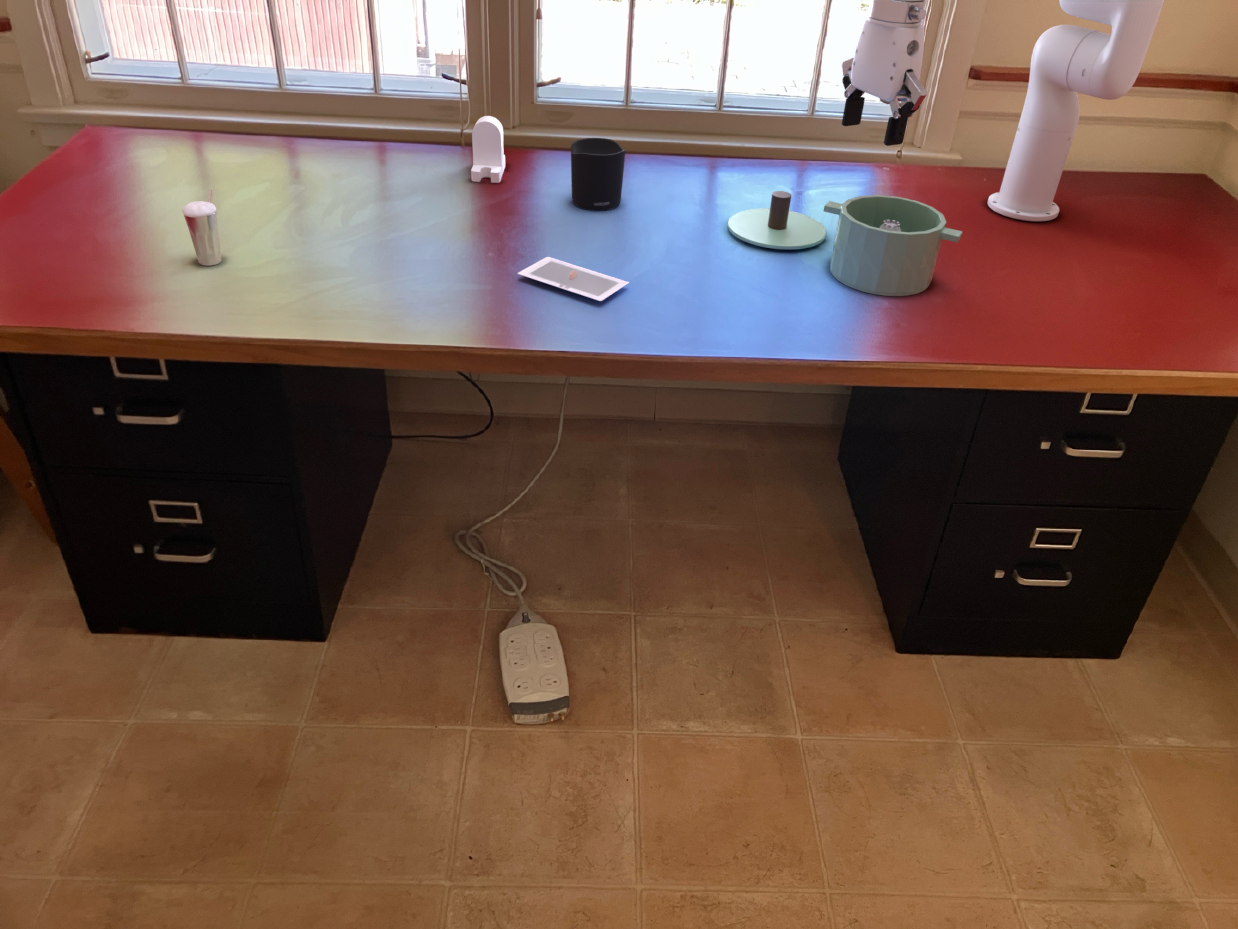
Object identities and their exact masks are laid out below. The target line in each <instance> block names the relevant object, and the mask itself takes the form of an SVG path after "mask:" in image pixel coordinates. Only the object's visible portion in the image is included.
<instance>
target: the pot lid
mask: <svg viewBox="0 0 1238 929" xmlns="http://www.w3.org/2000/svg"><path fill="white" fill-rule="evenodd" d="M791 201H792V194H791V193H790V192H788V191H783V190H775V191H773V192H772V193H771V199H770V206H769V207H761V208H760V207H758V208H750V209H745V210H741V211H738V212H736V213H734V214H732V215H731V216H730V217H729V219H728V222H727V228H728V231H729V232H730V233H731V234H732V235H733V236H734V237H735V238H737V239H739V240H741V241H743V242H746V243H748V244H751V245H754V246H757V247H762V248H766V249H767V248H768V249H773V250H801V249H807V248H812V247H815V246H817V245H820V244H821V243H822V242H824V240H825V239H826V237H827V230H826V227H825V226H824V225H823V224H822V223H821V222H820V221H819V220H817V219H816V218H814V217H811V216H809V215H807V214H805V213H801V212H797V211H793V210H790V206H791Z"/></svg>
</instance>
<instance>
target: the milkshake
mask: <svg viewBox="0 0 1238 929" xmlns="http://www.w3.org/2000/svg"><path fill="white" fill-rule="evenodd" d="M212 193H213V190H211V189H209V190H208V197H207V198H208V199H207V200H208V201H202V200H197V201H195V200H194V201H190V202H189V203H187V204H185V205H184V206H183V208H182V210H181V211H182V214H183V217H184V220H185V223H186V226H187V229H188V231H189V234H190V239H191V242H192V245H193V248H194V251H195V256H196V258H197V261H198V264H199V265H201V266H207V267H211V266H216V265H218V264H220V263H222V253H221V244H220V237H219V227H218V226H219V225H218V214H217V207H216V205H214V203H212V195H213V194H212Z"/></svg>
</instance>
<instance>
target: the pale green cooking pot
mask: <svg viewBox="0 0 1238 929" xmlns="http://www.w3.org/2000/svg"><path fill="white" fill-rule="evenodd" d="M823 212H825V213H829V214H833V215H837V216H838V219H837V224H836V230H835V235H834V241H833V246H832V251H831V256H830V261H829V263H830V267H829V270H830V273H831V275H832V276H833V277H834V278H835V279H836V280H837V281H838V282H839V283H841V284H843V285H845V286H847V287H849V288H851V289H853V290H856V291H859V292H863V293H867V294H871V295H877V296H883V297H905V296H913V295H917V294H921V293H922V292H924V291H925V290H927V289H928V288H929V286H930V284H931V282H932V281H933V278H934V272H935V268H936V264H937V261H938V258H939V254H940V250H941V245H942V242H943V240H944V241H949V242H953V243H959V241H960V240H961V239H962V237H963V231H962V230H958V229H953V228H949V227H946V226H947V220H946V218H945V215H944V214H943V213H942V212H940V211H939V210H938V209H936V208H935V207H933V206H931V205H929V204H926V203H924V202H920V201H918V200H914V199H910V198H906V197H902V196H893V195H882V194H871V195H858V196H855V197H852V198H848V199H847V200H845V201H844V202H843V203H840V202H835V201H831V200H828V201H827V203H825V204H824V205H823ZM886 220H890V222H889V223H892V220H895V224H896V223H897V222H899V223H900V228H901V231H900V232H899V231H889V230H884V229H880V226H881V225H882V224H883V221H886Z"/></svg>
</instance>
